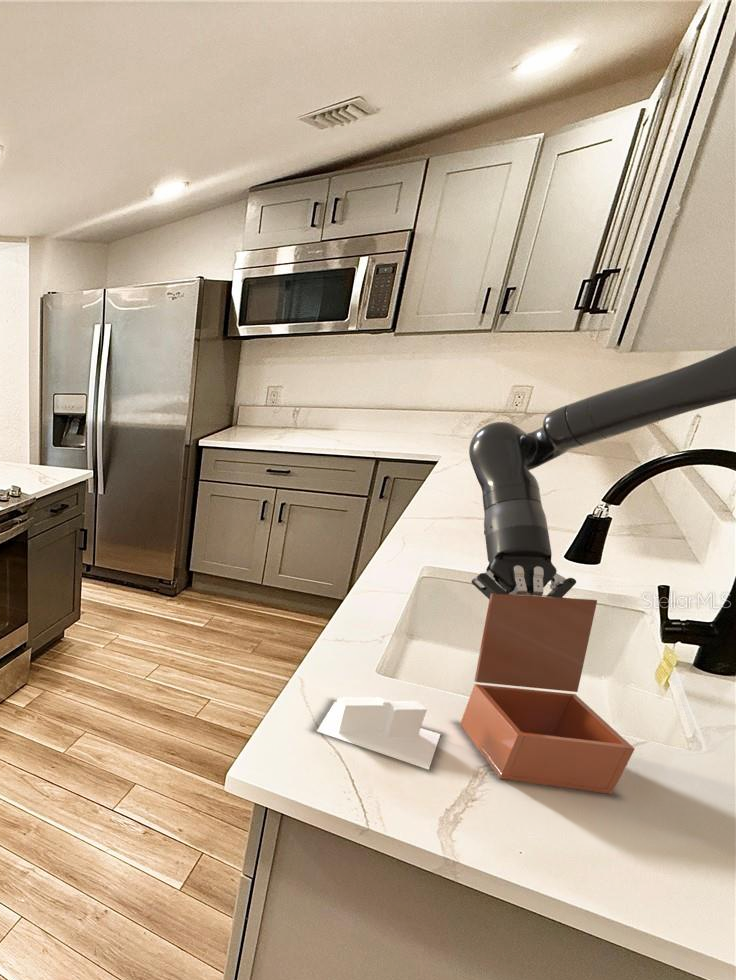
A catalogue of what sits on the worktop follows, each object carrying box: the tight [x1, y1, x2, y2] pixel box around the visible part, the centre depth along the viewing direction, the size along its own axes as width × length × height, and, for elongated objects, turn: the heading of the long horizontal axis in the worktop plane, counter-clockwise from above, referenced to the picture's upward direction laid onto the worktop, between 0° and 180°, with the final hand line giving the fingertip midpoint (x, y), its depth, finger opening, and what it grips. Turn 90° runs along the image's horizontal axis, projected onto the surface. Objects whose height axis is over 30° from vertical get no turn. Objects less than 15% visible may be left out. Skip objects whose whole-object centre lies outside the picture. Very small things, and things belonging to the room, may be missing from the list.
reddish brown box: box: [459, 683, 635, 795], centre depth 91 cm, size 14×13×8 cm
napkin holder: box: [316, 696, 441, 771], centre depth 98 cm, size 15×11×6 cm
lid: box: [474, 593, 598, 693], centre depth 93 cm, size 14×13×1 cm
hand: (529, 633), depth 95 cm, fingers closed
